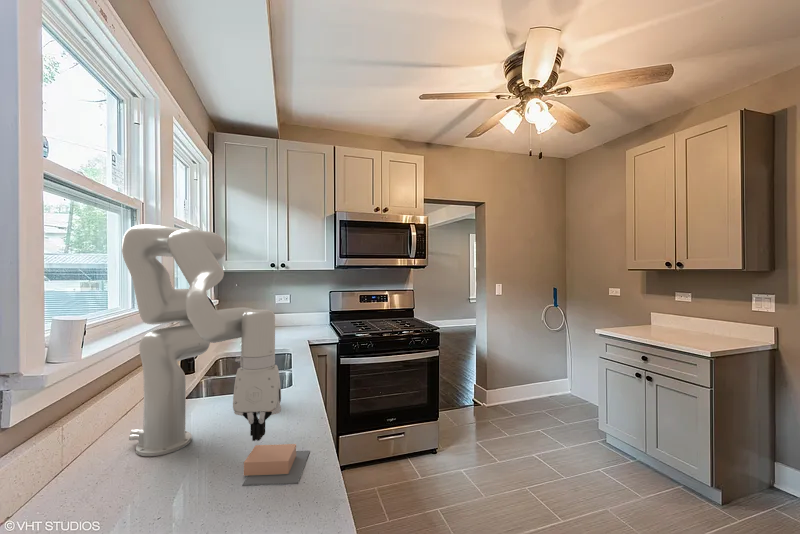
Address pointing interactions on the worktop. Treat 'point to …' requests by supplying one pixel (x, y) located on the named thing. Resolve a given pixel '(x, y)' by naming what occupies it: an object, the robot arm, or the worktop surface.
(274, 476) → the slate mat
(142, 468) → the worktop surface
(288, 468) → the terracotta block
